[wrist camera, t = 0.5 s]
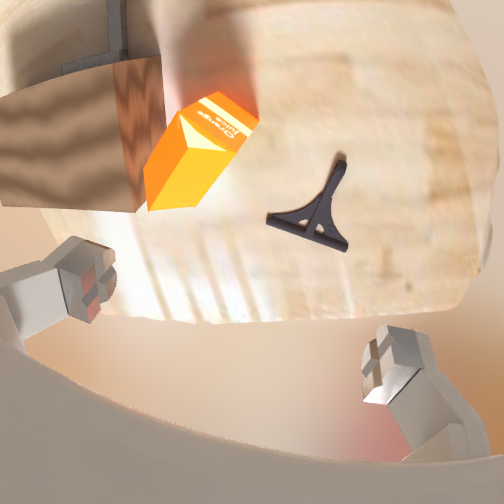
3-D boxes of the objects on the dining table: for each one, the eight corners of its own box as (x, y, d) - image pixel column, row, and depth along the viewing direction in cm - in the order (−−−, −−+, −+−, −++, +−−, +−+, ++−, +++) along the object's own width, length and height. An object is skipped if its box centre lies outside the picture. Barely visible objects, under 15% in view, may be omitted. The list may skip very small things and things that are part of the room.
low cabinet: (24, 88, 43) (-24, 108, 33) (161, 55, 38) (112, 63, 28) (42, 175, 55) (2, 206, 45) (171, 173, 50) (134, 212, 40)
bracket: (383, 177, 45) (387, 184, 42) (343, 248, 54) (344, 258, 52) (297, 141, 44) (296, 146, 42) (266, 220, 53) (264, 229, 51)
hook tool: (67, -18, 30) (-21, -15, 14) (133, -43, 28) (45, -63, 12) (71, 73, 41) (-15, 104, 25) (135, 59, 39) (46, 80, 23)
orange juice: (260, 121, 43) (224, 173, 27) (226, 163, 48) (177, 234, 32) (217, 89, 41) (153, 122, 25) (186, 134, 46) (117, 191, 30)
